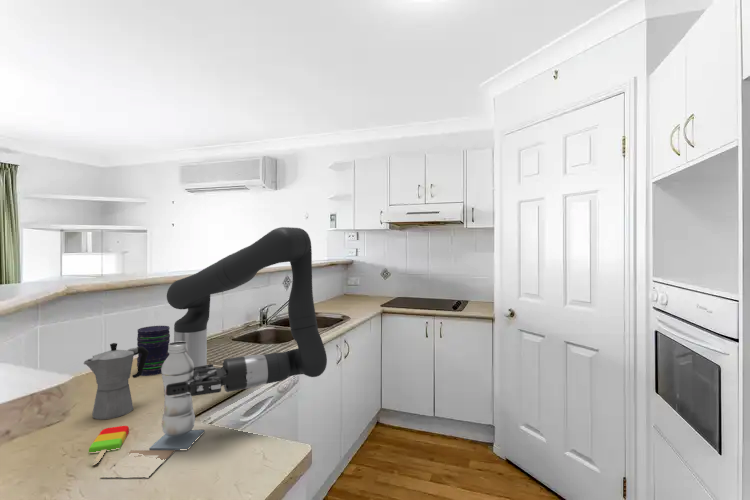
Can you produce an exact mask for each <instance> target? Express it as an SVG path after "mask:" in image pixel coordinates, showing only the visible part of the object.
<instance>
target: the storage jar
mask: <svg viewBox="0 0 750 500" xmlns="http://www.w3.org/2000/svg"><path fill="white" fill-rule="evenodd" d="M170 334H171V333H170V326H168V325H152V326H151V325H150V326H145V327H140V328H137V336H136V338H137V339H136V340H137V344H136V345H137V346H136V347H140V346H143V347H144V348H145V349H146V350H148V356H147V359H146V362H145V365H144V368H143V371H142V374H141V376H142V377H150V376H156V375H157V376H158V375H162V374H161V368H162V365H163V363H164V361H165V360H166V359H167V357H168V356H169V353H168V345H169V343H171V339H170V337H171V335H170ZM137 355H138V356H137V358H136V360H137V362H136V367H137V368H136V369H137V370H138V365H139V363H140V358H141V355H142V354H141V353H139V354H137ZM141 376H140V377H141Z"/></svg>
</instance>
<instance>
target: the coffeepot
mask: <svg viewBox="0 0 750 500" xmlns="http://www.w3.org/2000/svg"><path fill="white" fill-rule="evenodd" d="M109 345H110V350H107V351H104V352H101V353H98V354H95V355H92V357H91V358H88V359H86V360H85V361H84V362H83V365H86V366H87V367H88V368H89V369H90V370H91V371H92V373H93V374H94V377H95V381H96V384H97V387H96V388H97V389H96V394H95V399H94V404H93V410H92V419H95V420H110V419H115V418H119V417H122V416H125V415H127V414H129V413H131V412H132V411H133V410H134V406H133V405H134V404H133V400H132V399H133V398H132V393H131V388H130V384H129V379H130V378H131V377H132V378H133V379H136V378H139V377H141V374H142V371H143V368H144V365H145V362H146V359H147V356H148V350H146V349H145V348H144V347H143V346H140V347H138V346H136V347H132V348H129V349H117V347H118V343H117V342H113V343H110V344H109ZM139 353H141V354H142V355H141V358H140V363H139V365H138V369H137V372H136V373H135V374H132V375H131V373H132V368H133V362H134V356H136V355H138V354H139Z"/></svg>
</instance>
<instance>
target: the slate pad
mask: <svg viewBox="0 0 750 500" xmlns="http://www.w3.org/2000/svg"><path fill="white" fill-rule="evenodd" d="M203 432H204V433H205V430H204V429H192V430H191V431H190V432H188V433H187V434H184V435H181V436H175V437H171V436H167V435H165V434H163V436H161V437H160V438H159V439H158V440H156V442H154V443H153V444H152V445H151V446H150V447H149V449H148V450H180V449H188V448H189V447H190V446H191V445H192V443H193V442H195V440H196V439H197V438H198V437H199V436H200V435H201V434H202V433H203ZM204 433H203V434H204ZM203 434H202V435H203ZM195 443H196V442H195ZM192 446H193V445H192ZM192 446H191V447H192Z"/></svg>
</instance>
